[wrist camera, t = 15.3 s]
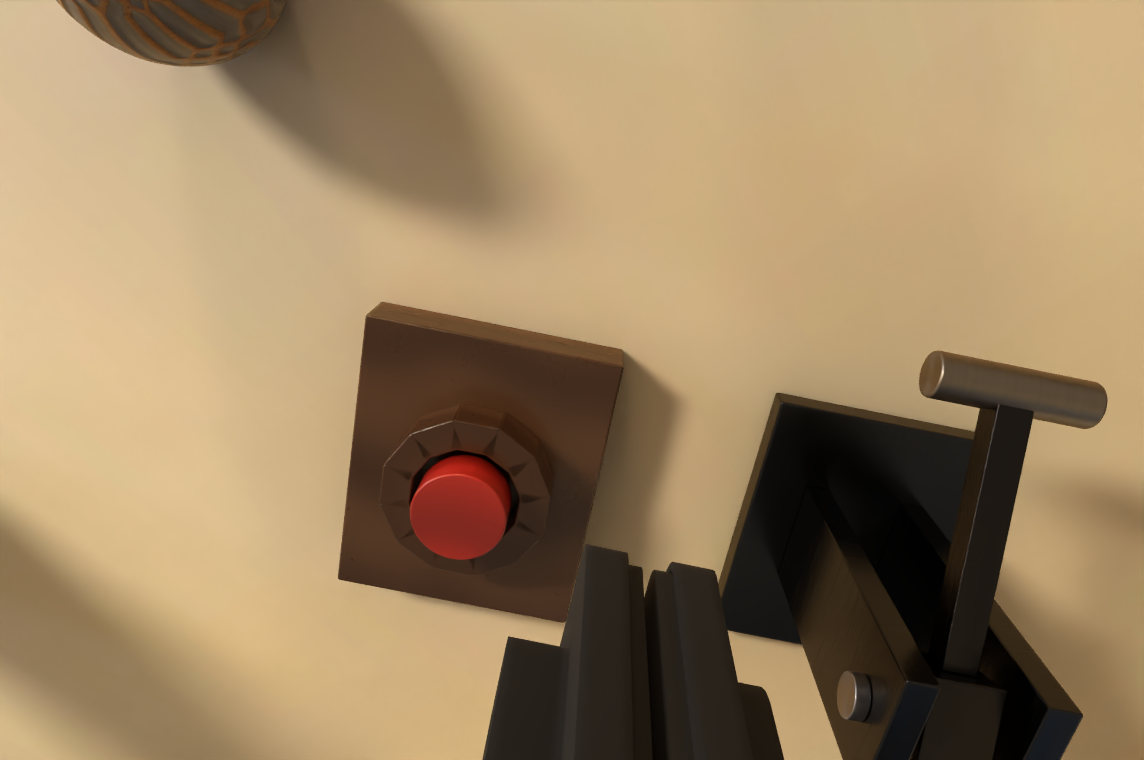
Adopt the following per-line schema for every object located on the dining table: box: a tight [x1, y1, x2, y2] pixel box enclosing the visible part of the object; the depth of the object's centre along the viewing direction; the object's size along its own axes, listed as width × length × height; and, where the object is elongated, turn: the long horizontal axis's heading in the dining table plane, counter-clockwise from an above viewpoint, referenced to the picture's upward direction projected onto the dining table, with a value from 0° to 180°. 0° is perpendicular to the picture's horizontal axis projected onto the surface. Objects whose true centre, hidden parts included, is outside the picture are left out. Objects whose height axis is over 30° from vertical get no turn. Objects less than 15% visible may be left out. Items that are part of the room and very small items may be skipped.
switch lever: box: [910, 351, 1107, 760], centre depth 24 cm, size 12×5×2 cm, turn 170°
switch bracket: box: [718, 393, 1083, 760], centre depth 28 cm, size 11×9×13 cm
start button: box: [410, 455, 512, 560], centre depth 30 cm, size 4×4×2 cm
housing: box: [338, 302, 624, 623], centre depth 32 cm, size 12×10×4 cm
